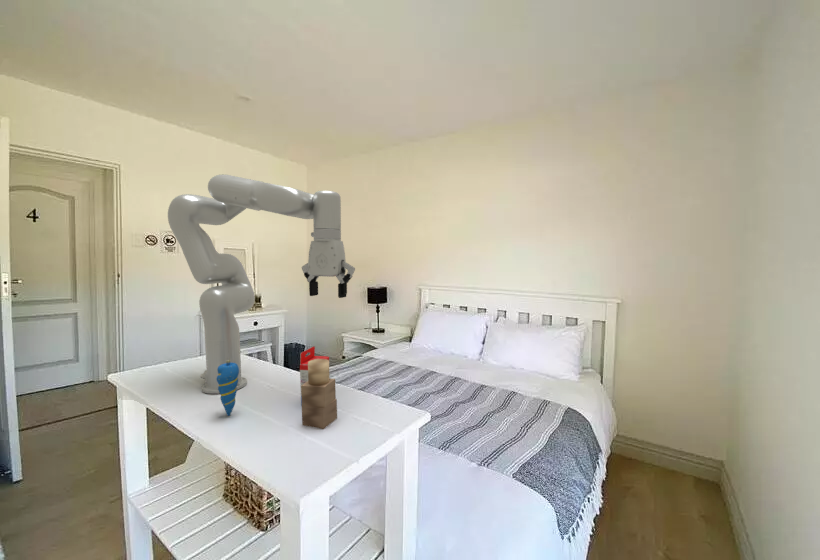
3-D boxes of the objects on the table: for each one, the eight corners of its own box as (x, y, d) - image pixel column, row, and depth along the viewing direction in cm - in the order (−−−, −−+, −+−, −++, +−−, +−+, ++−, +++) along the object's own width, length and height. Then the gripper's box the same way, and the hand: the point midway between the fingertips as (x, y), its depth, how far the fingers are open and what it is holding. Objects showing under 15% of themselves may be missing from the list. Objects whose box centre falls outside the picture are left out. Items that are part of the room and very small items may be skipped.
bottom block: (302, 425, 86) (301, 405, 86) (316, 414, 92) (316, 395, 92) (323, 429, 84) (322, 408, 84) (337, 418, 90) (336, 399, 90)
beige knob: (304, 384, 86) (303, 363, 86) (316, 377, 91) (315, 358, 90) (322, 386, 84) (321, 365, 84) (333, 379, 89) (333, 359, 89)
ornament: (219, 413, 93) (216, 356, 92) (241, 409, 95) (238, 354, 94) (217, 421, 89) (214, 361, 87) (240, 417, 91) (238, 359, 90)
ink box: (317, 408, 96) (315, 354, 95) (300, 406, 97) (298, 353, 96) (330, 395, 104) (329, 346, 103) (314, 394, 105) (313, 345, 104)
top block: (301, 406, 86) (301, 385, 85) (313, 396, 91) (313, 377, 91) (325, 408, 84) (324, 387, 84) (335, 398, 90) (335, 378, 90)
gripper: (293, 235, 101) (294, 296, 102) (346, 235, 94) (346, 299, 96) (310, 237, 108) (311, 293, 109) (360, 236, 101) (360, 296, 103)
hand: (327, 296), depth 102 cm, fingers open, 9 cm apart
